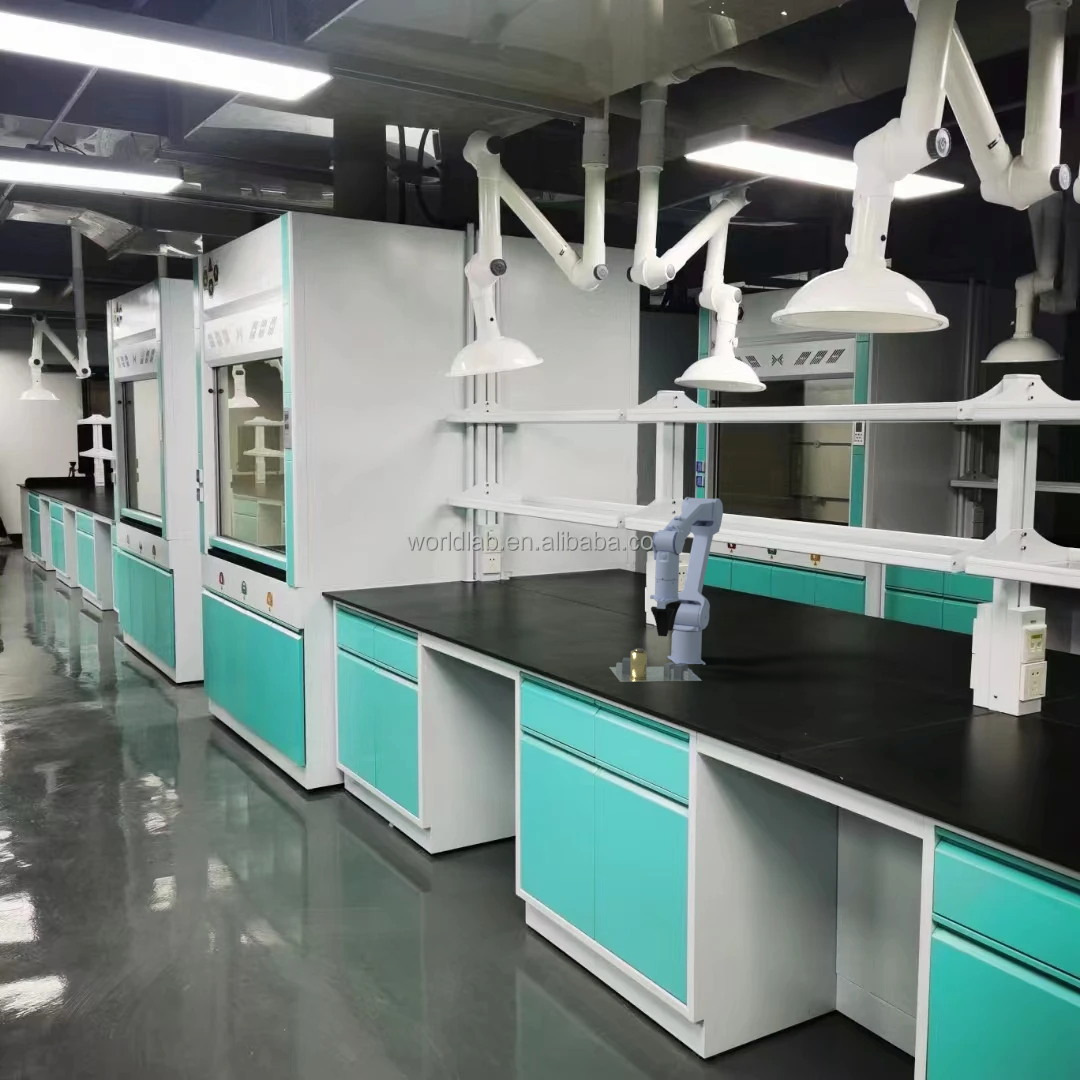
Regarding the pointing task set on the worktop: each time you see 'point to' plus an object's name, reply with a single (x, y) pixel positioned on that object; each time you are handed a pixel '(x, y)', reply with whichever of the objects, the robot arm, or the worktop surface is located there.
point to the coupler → (638, 664)
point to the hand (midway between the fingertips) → (665, 633)
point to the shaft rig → (656, 672)
